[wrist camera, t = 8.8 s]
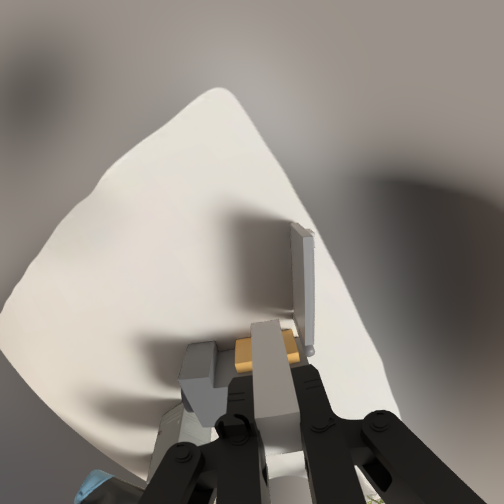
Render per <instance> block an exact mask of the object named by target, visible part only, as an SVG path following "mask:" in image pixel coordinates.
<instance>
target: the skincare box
mask: <svg viewBox="0 0 504 504" xmlns="http://www.w3.org/2000/svg"><path fill="white" fill-rule="evenodd" d="M211 428H212V427H207V428H203V427H202V425H201V424H200V422H199V420H198V418H197V416H196V415H195V413H188V412H187V411H186V410H185V408H184V405H183V403H181V404H179V405H178V406H176V407H175V408H173V409H172V410H170V411H169V412H167V413H166V414H165V415H163V416H162V419H161V423H160V427H159V431H158V435H157V439H156V443H155V447H154V451H153V456H152V460H151V464H150V469H149V473H148V477H147V481H146V483H148V484H149V482H150V480H151V479H152V477H153V475H154V473H155V471H156V470H157V468H158V466H159V464H160V462H161V461H162V459H163V457H164V455H165V453H166V452H167V450H168V449H169V448H170V447H171V446H172V445H174V444H175V443H179V442H191V443H194V444H196V445H197V446H200V445H203V444H207V443H210V441H211Z"/></svg>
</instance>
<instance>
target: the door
mask: <svg viewBox="0 0 504 504" xmlns="http://www.w3.org/2000/svg"><path fill="white" fill-rule="evenodd" d="M290 240H291V258H292V280H293V307H294V315H295V318H296V321H297V324H298V326H299V329H300V332H301V335H302V338H303V341H304V344H305V346H307V345H314V317H315V280H314V248H315V233H314V232H313V231H312V230H310V229H304V228H303V227H302V226H301V225H300V224H299V223H290Z"/></svg>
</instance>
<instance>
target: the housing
mask: <svg viewBox="0 0 504 504" xmlns="http://www.w3.org/2000/svg"><path fill="white" fill-rule="evenodd" d="M293 320H294V323H295V326H296V329H297V332H298V335H299V337H296V338H294V335H293V332H292V329H290V330H285V331H282V335H283V340H284V344H285V348H286V353H287V357H288V362H289V366H290V368H294V367H299V366H304V365H309V363H308V360H307V357H311V356H313V355H314V354H315V350H314V347H313V345H307V346H305V344H304V341H303V338H302V335H301V332H300V329H299V326H298V324H297V321H296V318H295V315H294V314H293ZM306 356H307V357H306ZM249 375H253V368H252V344H251V337H249V338H244V339H238V340H236V347H235V349H233V350H227V351H220V352H218V349H217V346H216V343H215V341H211V342H204V343H197V344H189V345H188V348H187V351H186V355H185V358H184V361H183V364H182V367H181V371H180V374H179V377H178V382H179V384H180V386H181V397H182V402H183V405H184V408H185V410H186V411H187V412H188V413H195V415H196V416H197V418H198V420H199V422H200V424H201V425H202V427H203V428H207V427H214V425H215V423H216V421H217V420H218V418H219V417H220V416H222V415H224V414H226V409H227V396H228V385H229V383H230V382H231V380H232V379H233V378H234V377H242V376H249Z"/></svg>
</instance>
